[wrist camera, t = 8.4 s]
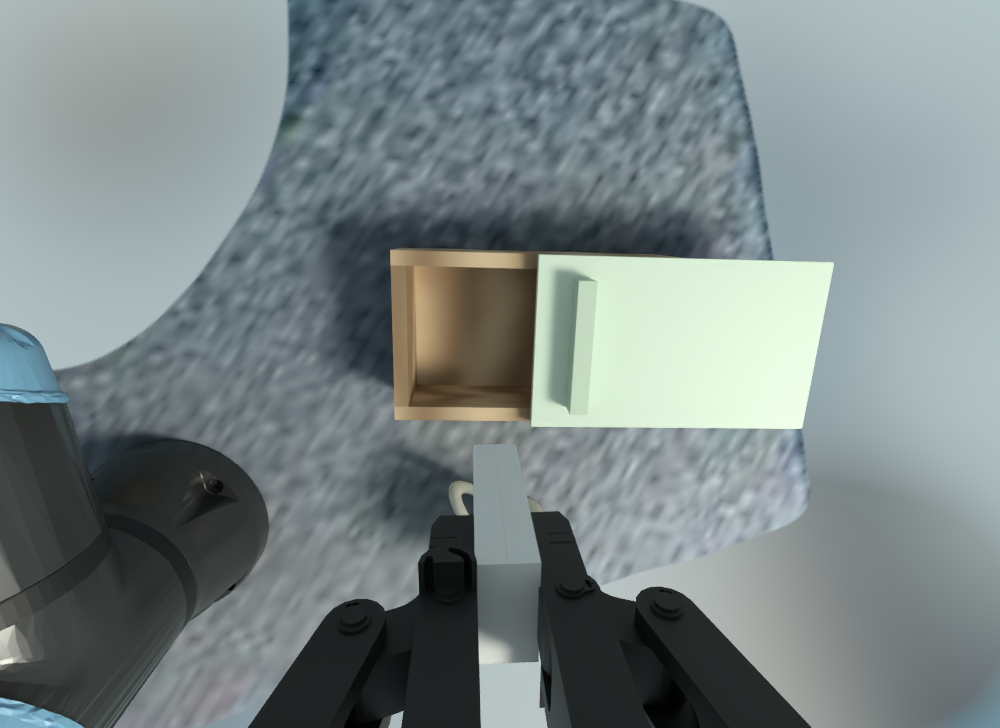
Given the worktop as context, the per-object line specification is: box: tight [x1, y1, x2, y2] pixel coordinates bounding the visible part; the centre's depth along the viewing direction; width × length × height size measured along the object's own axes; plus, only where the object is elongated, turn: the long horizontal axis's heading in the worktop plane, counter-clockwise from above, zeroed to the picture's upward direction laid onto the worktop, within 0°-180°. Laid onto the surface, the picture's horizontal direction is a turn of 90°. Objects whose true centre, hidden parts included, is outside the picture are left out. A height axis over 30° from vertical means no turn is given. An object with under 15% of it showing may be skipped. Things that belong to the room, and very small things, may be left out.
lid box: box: [390, 247, 682, 421], centre depth 38 cm, size 20×12×6 cm, turn 88°
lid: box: [530, 254, 834, 429], centre depth 34 cm, size 20×12×2 cm, turn 88°
